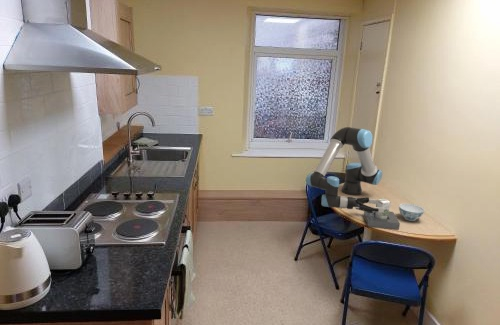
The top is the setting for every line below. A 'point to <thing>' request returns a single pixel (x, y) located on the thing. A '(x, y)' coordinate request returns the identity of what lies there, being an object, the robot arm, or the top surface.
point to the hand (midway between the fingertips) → (381, 206)
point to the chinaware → (411, 211)
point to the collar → (382, 221)
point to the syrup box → (382, 204)
